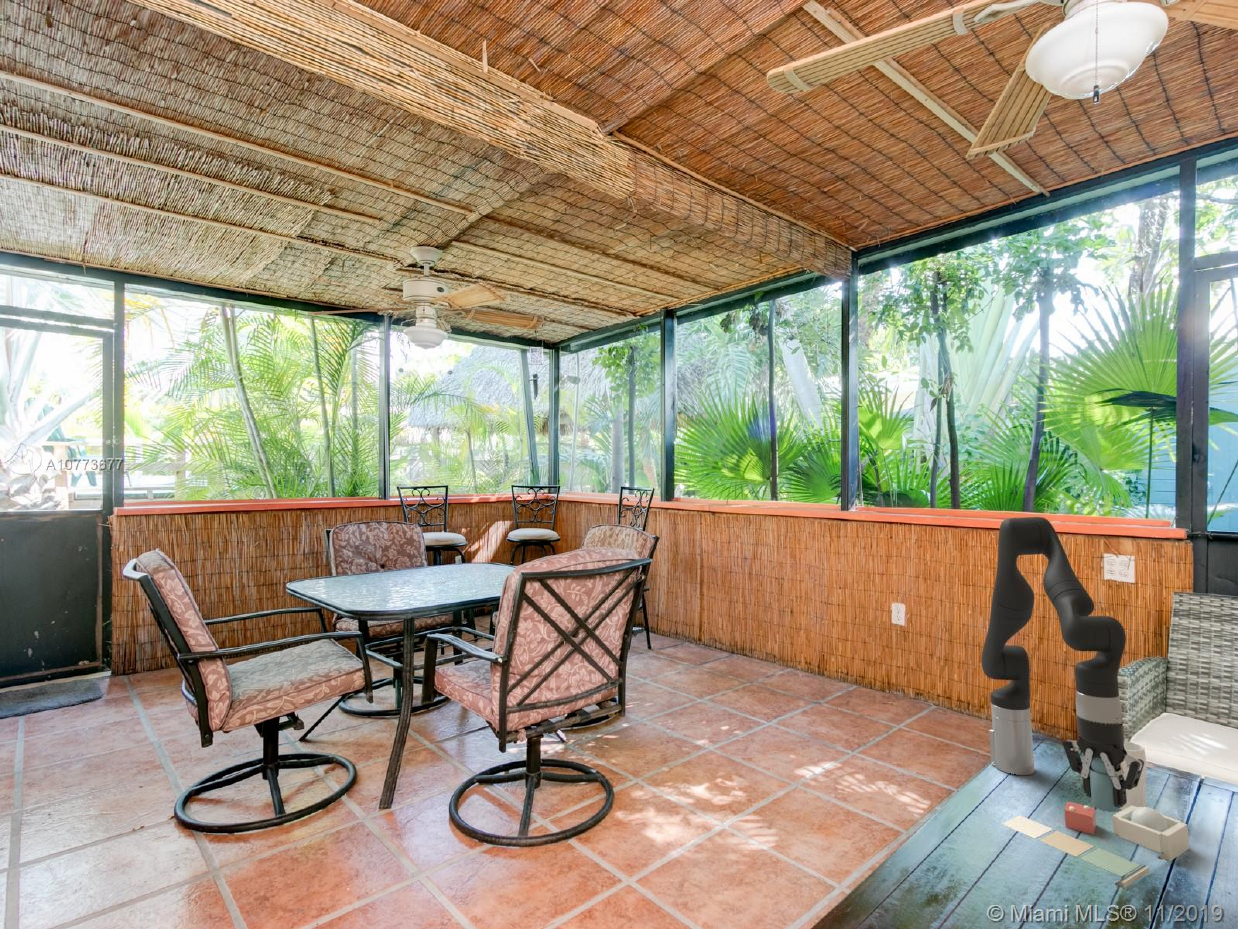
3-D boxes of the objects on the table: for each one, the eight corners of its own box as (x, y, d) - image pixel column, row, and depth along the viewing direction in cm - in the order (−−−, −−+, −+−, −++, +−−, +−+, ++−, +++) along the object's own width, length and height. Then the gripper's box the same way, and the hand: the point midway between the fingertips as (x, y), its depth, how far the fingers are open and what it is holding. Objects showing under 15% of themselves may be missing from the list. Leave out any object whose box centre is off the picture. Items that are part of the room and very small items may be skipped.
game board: (993, 829, 142) (993, 823, 142) (1019, 817, 147) (1019, 812, 147) (1123, 888, 120) (1123, 881, 120) (1149, 872, 125) (1148, 865, 125)
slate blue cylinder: (1087, 805, 128) (1083, 753, 129) (1098, 799, 130) (1094, 749, 131) (1112, 814, 124) (1108, 761, 125) (1123, 808, 126) (1119, 756, 127)
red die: (1066, 833, 140) (1064, 807, 140) (1069, 824, 144) (1067, 798, 144) (1094, 840, 137) (1092, 814, 137) (1096, 831, 140) (1094, 805, 141)
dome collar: (1112, 840, 137) (1110, 816, 137) (1135, 827, 141) (1133, 804, 142) (1168, 862, 128) (1166, 837, 128) (1190, 848, 133) (1188, 823, 133)
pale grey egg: (1127, 839, 136) (1124, 806, 136) (1140, 831, 139) (1138, 799, 139) (1161, 853, 131) (1158, 818, 131) (1174, 844, 134) (1172, 810, 134)
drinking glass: (1136, 803, 152) (1131, 740, 153) (1157, 817, 145) (1152, 751, 146) (1106, 803, 152) (1101, 739, 153) (1125, 817, 146) (1121, 751, 147)
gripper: (1050, 709, 133) (1056, 792, 132) (1131, 729, 120) (1138, 822, 119) (1070, 702, 136) (1076, 783, 135) (1150, 722, 124) (1157, 811, 123)
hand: (1105, 801), depth 127 cm, fingers closed on slate blue cylinder, 4 cm apart
